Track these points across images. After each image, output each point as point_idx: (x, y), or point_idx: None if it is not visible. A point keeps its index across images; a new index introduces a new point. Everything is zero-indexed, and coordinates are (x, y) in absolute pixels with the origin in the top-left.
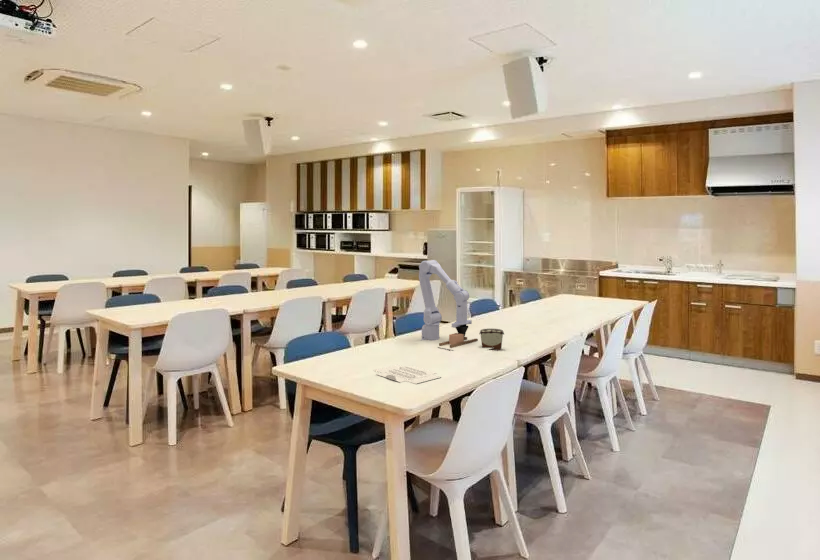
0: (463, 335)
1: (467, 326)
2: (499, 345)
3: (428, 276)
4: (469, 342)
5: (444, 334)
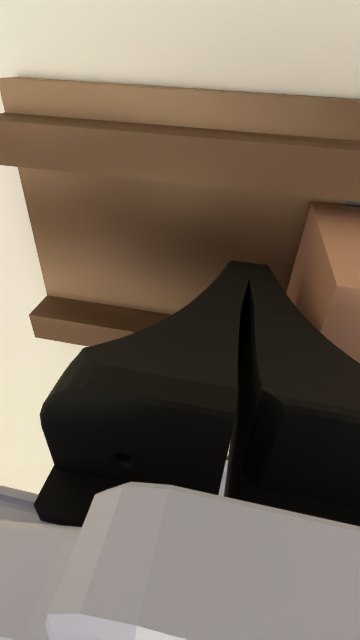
0: (339, 268)
1: (145, 387)
2: None
3: None
4: (227, 134)
5: (24, 485)
